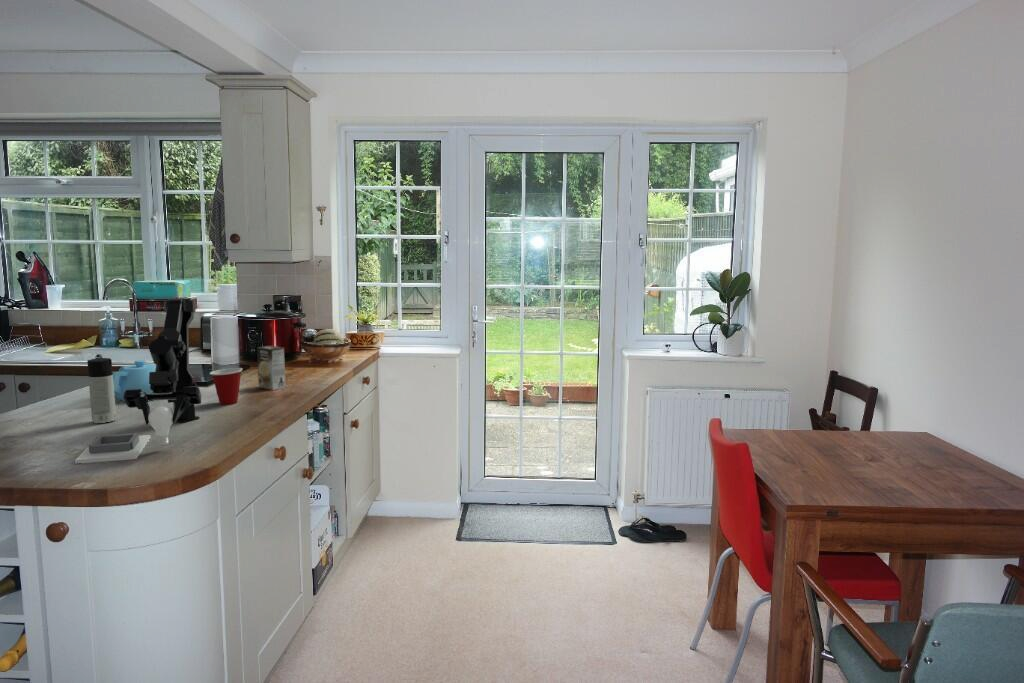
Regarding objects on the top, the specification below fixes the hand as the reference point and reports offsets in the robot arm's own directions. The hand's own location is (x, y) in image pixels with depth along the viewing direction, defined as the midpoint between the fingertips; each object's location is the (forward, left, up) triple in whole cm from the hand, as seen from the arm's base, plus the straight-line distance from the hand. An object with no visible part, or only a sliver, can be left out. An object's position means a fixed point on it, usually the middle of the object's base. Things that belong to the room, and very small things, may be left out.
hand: (160, 423), depth 184 cm
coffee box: (-42, +72, -8) cm, 84 cm away
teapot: (-67, +35, -8) cm, 76 cm away
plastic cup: (-34, +46, -8) cm, 58 cm away
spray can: (-45, +9, -8) cm, 46 cm away
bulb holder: (-12, -6, -8) cm, 16 cm away
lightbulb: (-1, +1, -7) cm, 7 cm away
